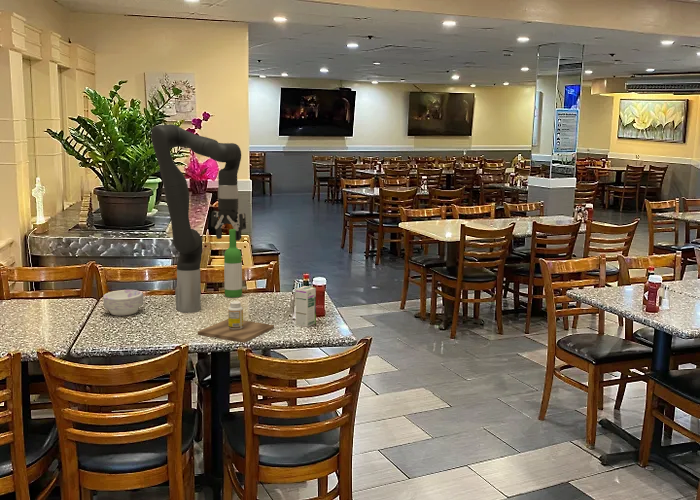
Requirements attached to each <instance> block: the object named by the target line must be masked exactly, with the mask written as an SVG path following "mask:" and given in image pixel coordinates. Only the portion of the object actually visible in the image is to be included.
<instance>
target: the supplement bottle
mask: <svg viewBox="0 0 700 500" xmlns="http://www.w3.org/2000/svg"><path fill="white" fill-rule="evenodd" d="M241 303H242V302H241V301H239V300H234V301H230V302H229V304H230V305H229V307H228V308H227V311H228V312H227V316H228V317H227V319H228V323H229V328H230V329H232V330H238V329H241V328H243V320H244V315H243V314H244V308H243V306H241V305H242V304H241Z"/></svg>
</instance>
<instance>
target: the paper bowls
mask: <svg viewBox="0 0 700 500" xmlns="http://www.w3.org/2000/svg"><path fill="white" fill-rule="evenodd" d="M102 299H103V300H102V302H103V308H104V309H105V310H108V311H109V313H110V314H111V315H113V316H119V317H120V316H121V317H123V316H130V315H134V314H136V313H137V312H138V311H139V309H140V307H143V305H144V293H143V292H142V291H141V290H136V289H122V290H121V289H120V290H113V291H110V292H106V293H105V294H103V296H102Z"/></svg>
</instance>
